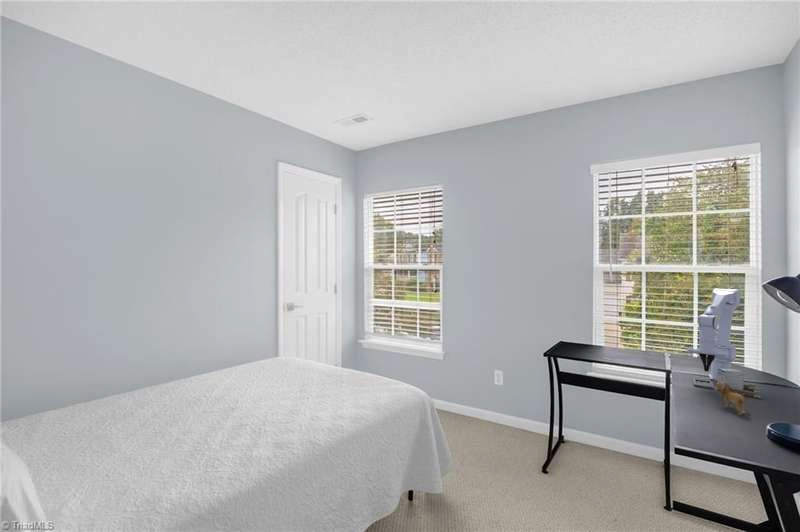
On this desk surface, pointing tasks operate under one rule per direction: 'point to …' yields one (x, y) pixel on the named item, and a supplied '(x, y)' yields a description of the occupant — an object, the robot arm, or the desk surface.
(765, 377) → the desk surface
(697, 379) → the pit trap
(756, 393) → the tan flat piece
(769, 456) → the desk surface
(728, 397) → the lion figurine
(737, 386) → the medicine box
